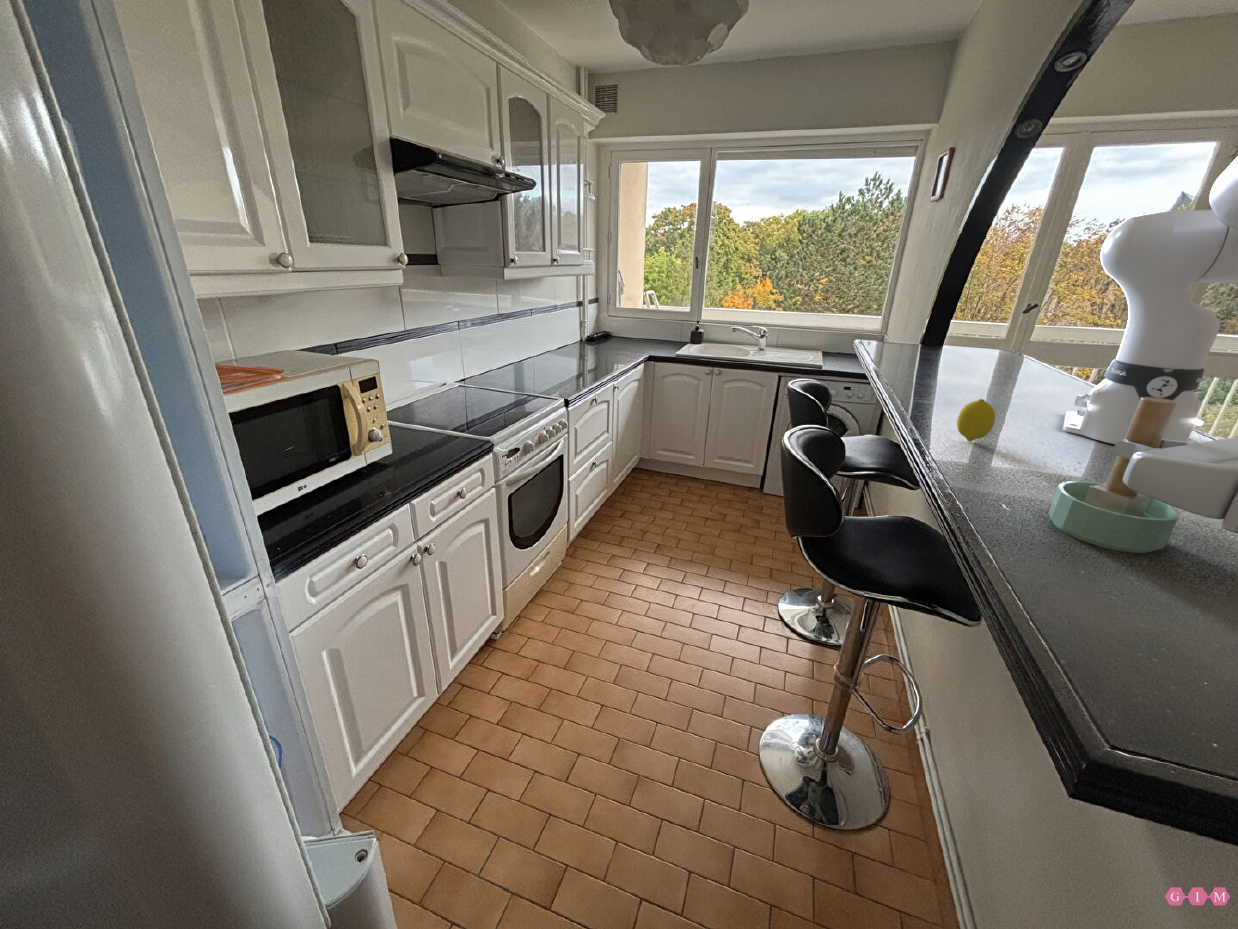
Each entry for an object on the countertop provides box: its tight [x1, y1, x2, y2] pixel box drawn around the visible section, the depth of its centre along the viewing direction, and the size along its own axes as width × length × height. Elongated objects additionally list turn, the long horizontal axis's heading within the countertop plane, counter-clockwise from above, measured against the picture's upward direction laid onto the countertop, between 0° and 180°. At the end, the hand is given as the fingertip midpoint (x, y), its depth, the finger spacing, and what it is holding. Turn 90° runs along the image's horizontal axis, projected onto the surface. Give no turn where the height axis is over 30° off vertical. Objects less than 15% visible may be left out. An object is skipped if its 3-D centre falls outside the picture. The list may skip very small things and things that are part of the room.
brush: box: [1084, 397, 1177, 517], centre depth 58 cm, size 4×4×14 cm
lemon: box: [956, 398, 996, 442], centre depth 92 cm, size 6×6×8 cm
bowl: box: [1047, 480, 1181, 554], centre depth 61 cm, size 11×11×4 cm
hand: (1129, 444), depth 58 cm, fingers closed on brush, 3 cm apart
